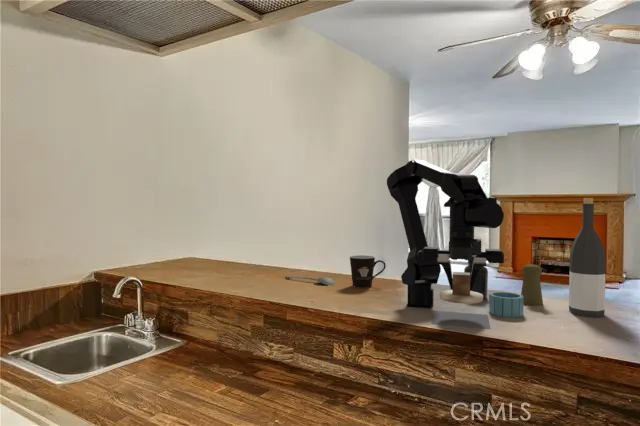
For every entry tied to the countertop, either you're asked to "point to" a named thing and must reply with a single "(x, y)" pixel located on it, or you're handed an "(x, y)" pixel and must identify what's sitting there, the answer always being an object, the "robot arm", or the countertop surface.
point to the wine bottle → (587, 269)
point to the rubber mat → (461, 319)
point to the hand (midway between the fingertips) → (461, 290)
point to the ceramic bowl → (506, 304)
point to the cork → (532, 285)
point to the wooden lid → (461, 290)
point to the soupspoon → (322, 280)
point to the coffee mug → (363, 270)
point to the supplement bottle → (479, 279)
